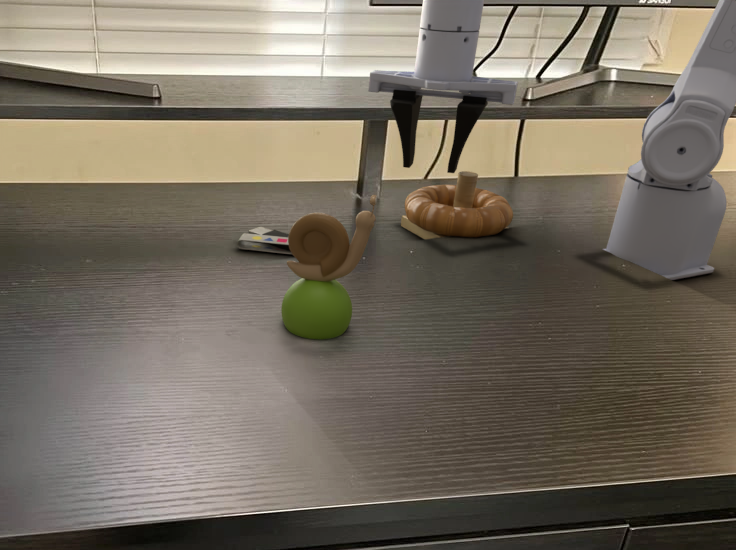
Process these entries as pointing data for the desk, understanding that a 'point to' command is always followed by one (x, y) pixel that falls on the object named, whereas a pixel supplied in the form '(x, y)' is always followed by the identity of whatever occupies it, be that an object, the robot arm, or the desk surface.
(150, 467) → the desk surface
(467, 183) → the post
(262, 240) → the grey game box
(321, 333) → the snail figurine
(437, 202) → the ring
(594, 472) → the desk surface
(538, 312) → the desk surface
